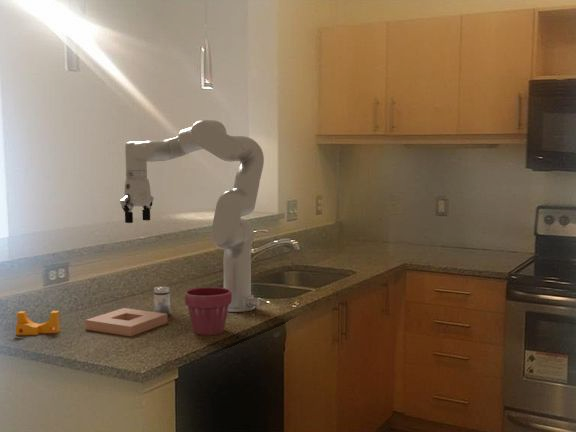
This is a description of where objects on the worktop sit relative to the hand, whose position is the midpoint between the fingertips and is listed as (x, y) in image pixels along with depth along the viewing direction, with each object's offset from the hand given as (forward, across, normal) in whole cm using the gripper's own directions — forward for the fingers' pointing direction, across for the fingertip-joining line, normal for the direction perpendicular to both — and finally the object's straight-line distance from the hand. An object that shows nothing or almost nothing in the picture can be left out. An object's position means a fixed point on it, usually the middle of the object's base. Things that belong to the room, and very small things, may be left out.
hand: (137, 221), depth 260 cm
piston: (+29, -15, -22) cm, 39 cm away
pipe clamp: (+30, -52, -3) cm, 60 cm away
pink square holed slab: (+29, -33, -22) cm, 49 cm away
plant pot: (+30, -26, -49) cm, 63 cm away
